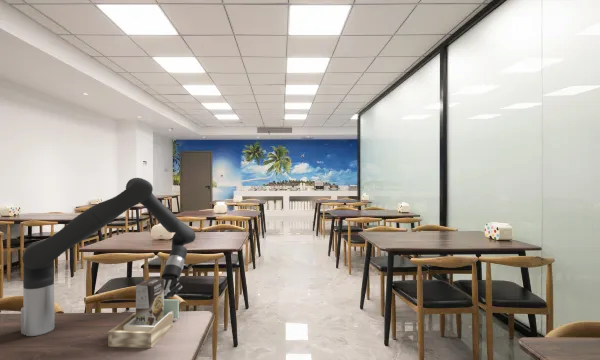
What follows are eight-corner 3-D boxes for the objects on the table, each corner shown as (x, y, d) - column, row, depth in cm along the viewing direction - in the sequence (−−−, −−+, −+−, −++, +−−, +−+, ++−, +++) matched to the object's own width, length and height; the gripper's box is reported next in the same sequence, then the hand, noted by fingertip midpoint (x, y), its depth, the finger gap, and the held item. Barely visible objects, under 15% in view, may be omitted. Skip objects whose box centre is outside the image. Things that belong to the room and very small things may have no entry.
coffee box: (150, 329, 127) (150, 285, 126) (135, 327, 128) (134, 284, 127) (164, 318, 136) (164, 278, 135) (150, 317, 137) (149, 277, 136)
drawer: (119, 334, 124) (119, 314, 124) (142, 316, 140) (142, 298, 140) (160, 336, 123) (159, 316, 123) (178, 317, 139) (178, 299, 139)
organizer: (108, 346, 118) (108, 331, 118) (134, 325, 134) (134, 312, 134) (151, 348, 117) (151, 333, 117) (172, 326, 133) (172, 313, 133)
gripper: (156, 263, 150) (141, 301, 138) (185, 263, 149) (173, 302, 137) (161, 271, 155) (148, 309, 143) (190, 272, 154) (179, 310, 142)
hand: (160, 306), depth 140 cm, fingers closed
